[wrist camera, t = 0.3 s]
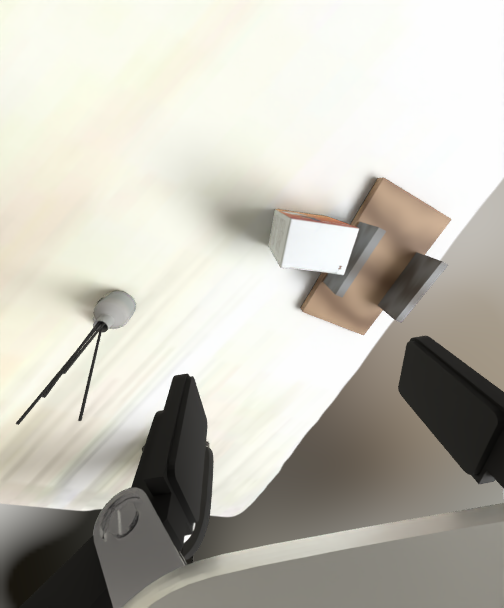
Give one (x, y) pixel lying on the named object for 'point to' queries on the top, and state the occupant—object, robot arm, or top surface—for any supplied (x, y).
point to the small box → (311, 242)
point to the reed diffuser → (106, 316)
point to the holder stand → (382, 261)
